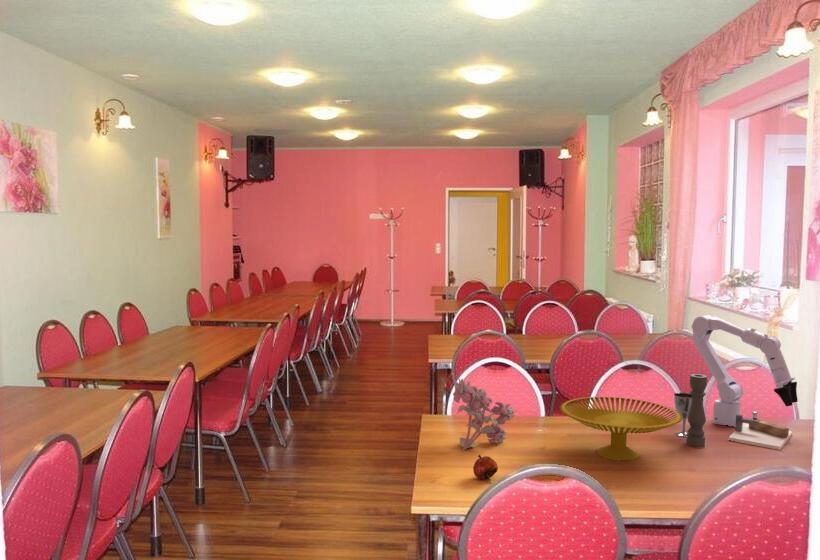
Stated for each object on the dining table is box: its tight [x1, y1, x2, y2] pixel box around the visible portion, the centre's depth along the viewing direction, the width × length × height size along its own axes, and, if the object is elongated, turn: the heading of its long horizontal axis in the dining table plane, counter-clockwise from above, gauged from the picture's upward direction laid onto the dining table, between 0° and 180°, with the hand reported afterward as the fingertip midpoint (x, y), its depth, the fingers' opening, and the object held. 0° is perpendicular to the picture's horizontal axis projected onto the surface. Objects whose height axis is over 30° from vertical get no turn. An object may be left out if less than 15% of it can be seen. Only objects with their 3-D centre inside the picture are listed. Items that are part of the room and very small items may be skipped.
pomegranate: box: [472, 454, 499, 484], centre depth 217 cm, size 7×7×10 cm
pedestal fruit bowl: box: [559, 396, 683, 461], centre depth 242 cm, size 40×40×15 cm
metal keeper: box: [734, 413, 760, 432], centre depth 265 cm, size 8×2×6 cm, turn 53°
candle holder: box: [685, 373, 708, 448], centre depth 252 cm, size 6×6×25 cm
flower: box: [452, 378, 517, 452], centre depth 249 cm, size 20×22×25 cm
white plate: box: [728, 423, 793, 451], centre depth 263 cm, size 17×23×1 cm
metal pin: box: [751, 410, 760, 420], centre depth 270 cm, size 2×2×3 cm
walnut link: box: [748, 418, 790, 437], centre depth 265 cm, size 15×4×3 cm, turn 28°
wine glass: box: [673, 391, 692, 438], centre depth 265 cm, size 8×8×15 cm
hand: (792, 404), depth 264 cm, fingers open, 7 cm apart
